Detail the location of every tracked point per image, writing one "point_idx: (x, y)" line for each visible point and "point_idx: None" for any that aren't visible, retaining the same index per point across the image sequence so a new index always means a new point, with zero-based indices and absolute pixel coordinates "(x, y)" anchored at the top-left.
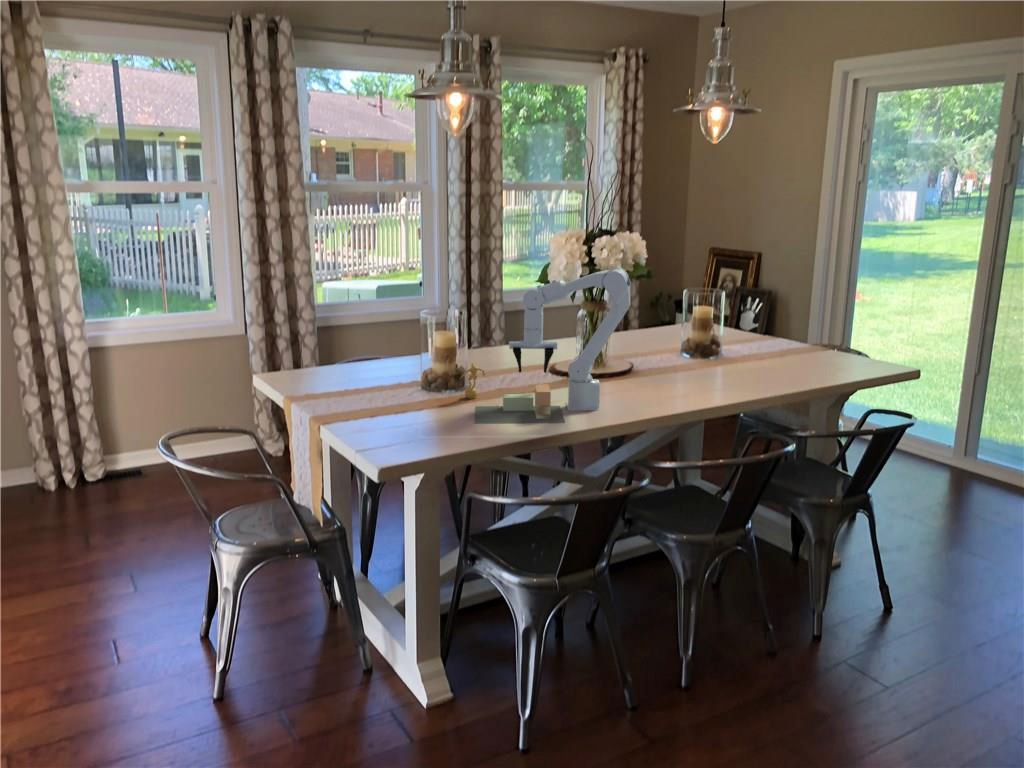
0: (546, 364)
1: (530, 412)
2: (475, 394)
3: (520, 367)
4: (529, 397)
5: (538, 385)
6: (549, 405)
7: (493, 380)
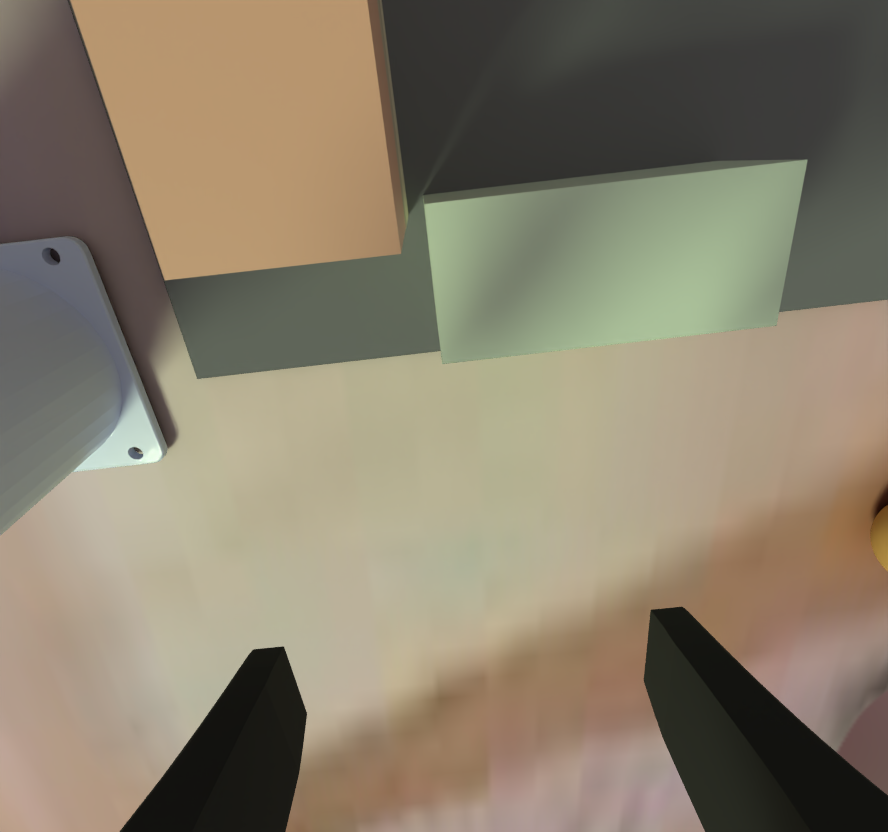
0: (183, 786)
1: (446, 109)
2: None
3: (712, 671)
4: (474, 208)
5: (328, 162)
6: None
7: (674, 827)
